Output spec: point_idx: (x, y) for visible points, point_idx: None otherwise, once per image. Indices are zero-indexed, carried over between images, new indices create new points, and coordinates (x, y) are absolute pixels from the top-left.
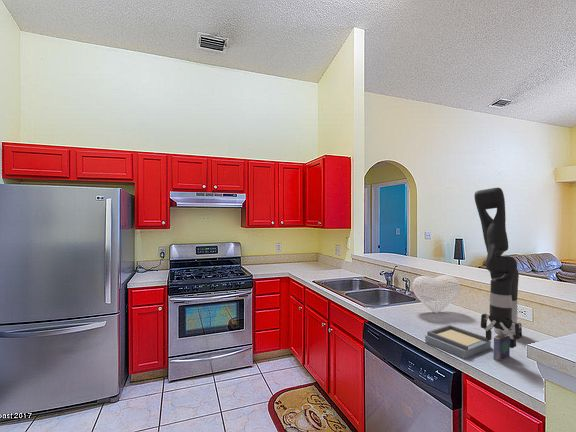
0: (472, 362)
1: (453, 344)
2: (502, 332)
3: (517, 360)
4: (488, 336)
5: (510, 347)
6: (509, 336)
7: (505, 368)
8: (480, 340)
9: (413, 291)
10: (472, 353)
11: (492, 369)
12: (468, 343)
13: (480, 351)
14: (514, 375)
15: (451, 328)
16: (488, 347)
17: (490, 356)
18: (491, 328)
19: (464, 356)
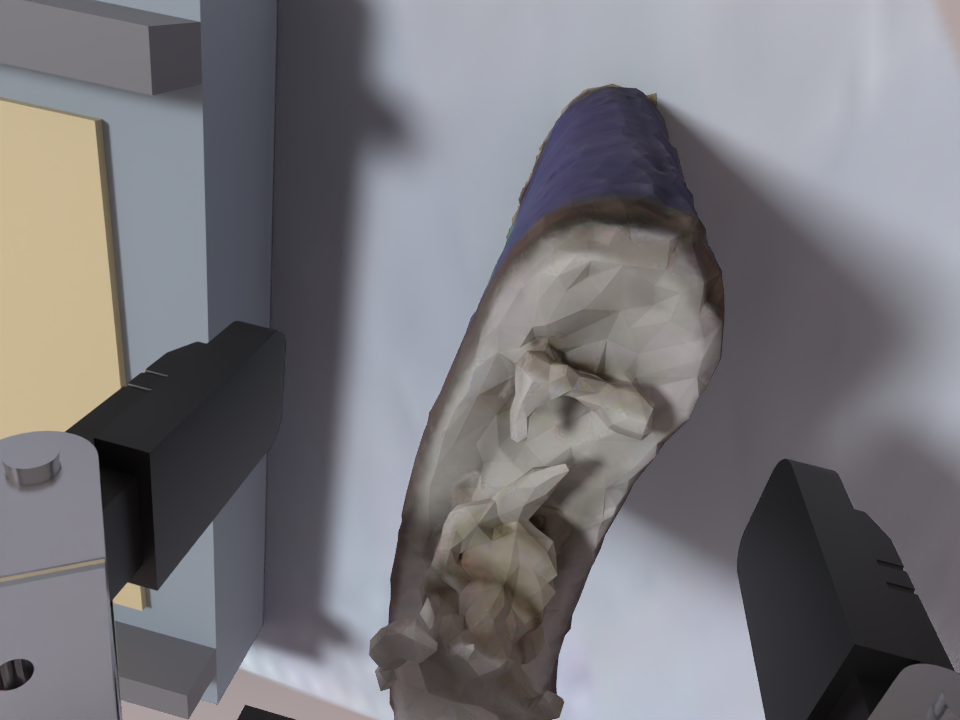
0: (359, 661)
1: None
2: (509, 666)
3: (808, 205)
4: (227, 490)
5: (749, 562)
6: (712, 368)
7: (679, 598)
8: (89, 150)
9: None
10: (254, 509)
11: (566, 694)
12: None
13: (267, 310)
14: None
15: None
16: (267, 36)
17: (431, 368)
18: (95, 544)
19: (249, 642)
